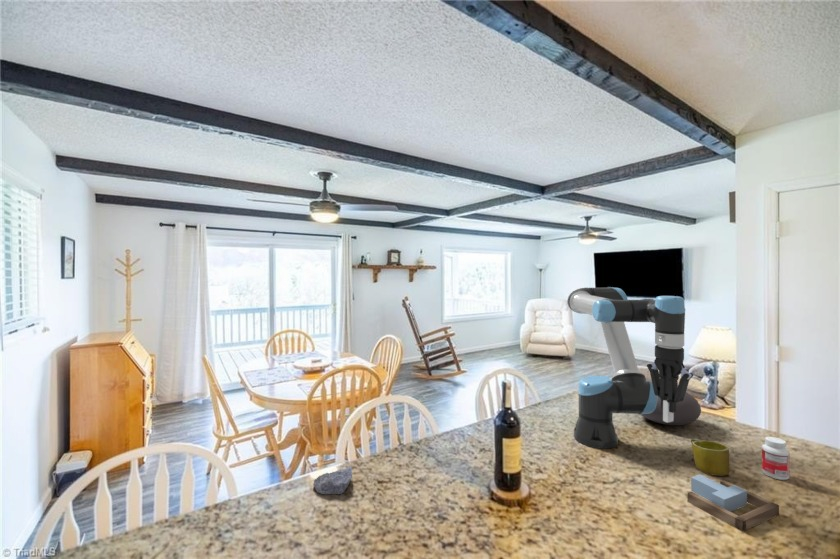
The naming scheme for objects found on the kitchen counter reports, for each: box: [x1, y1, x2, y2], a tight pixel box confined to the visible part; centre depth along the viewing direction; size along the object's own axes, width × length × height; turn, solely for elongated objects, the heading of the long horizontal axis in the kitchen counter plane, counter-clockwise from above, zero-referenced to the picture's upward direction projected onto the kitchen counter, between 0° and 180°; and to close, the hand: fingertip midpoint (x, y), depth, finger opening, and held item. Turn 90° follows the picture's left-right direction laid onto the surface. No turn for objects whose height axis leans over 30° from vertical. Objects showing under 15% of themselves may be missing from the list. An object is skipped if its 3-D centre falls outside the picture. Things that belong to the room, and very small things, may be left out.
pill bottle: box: [761, 436, 790, 481], centre depth 113 cm, size 6×6×11 cm
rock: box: [313, 465, 353, 495], centre depth 110 cm, size 12×5×10 cm
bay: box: [687, 479, 780, 532], centre depth 98 cm, size 13×16×2 cm
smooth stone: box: [639, 391, 702, 426], centre depth 155 cm, size 25×25×15 cm
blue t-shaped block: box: [690, 474, 748, 513], centre depth 102 cm, size 10×10×4 cm
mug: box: [690, 438, 731, 477], centre depth 118 cm, size 12×10×10 cm
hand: (668, 420), depth 114 cm, fingers closed
